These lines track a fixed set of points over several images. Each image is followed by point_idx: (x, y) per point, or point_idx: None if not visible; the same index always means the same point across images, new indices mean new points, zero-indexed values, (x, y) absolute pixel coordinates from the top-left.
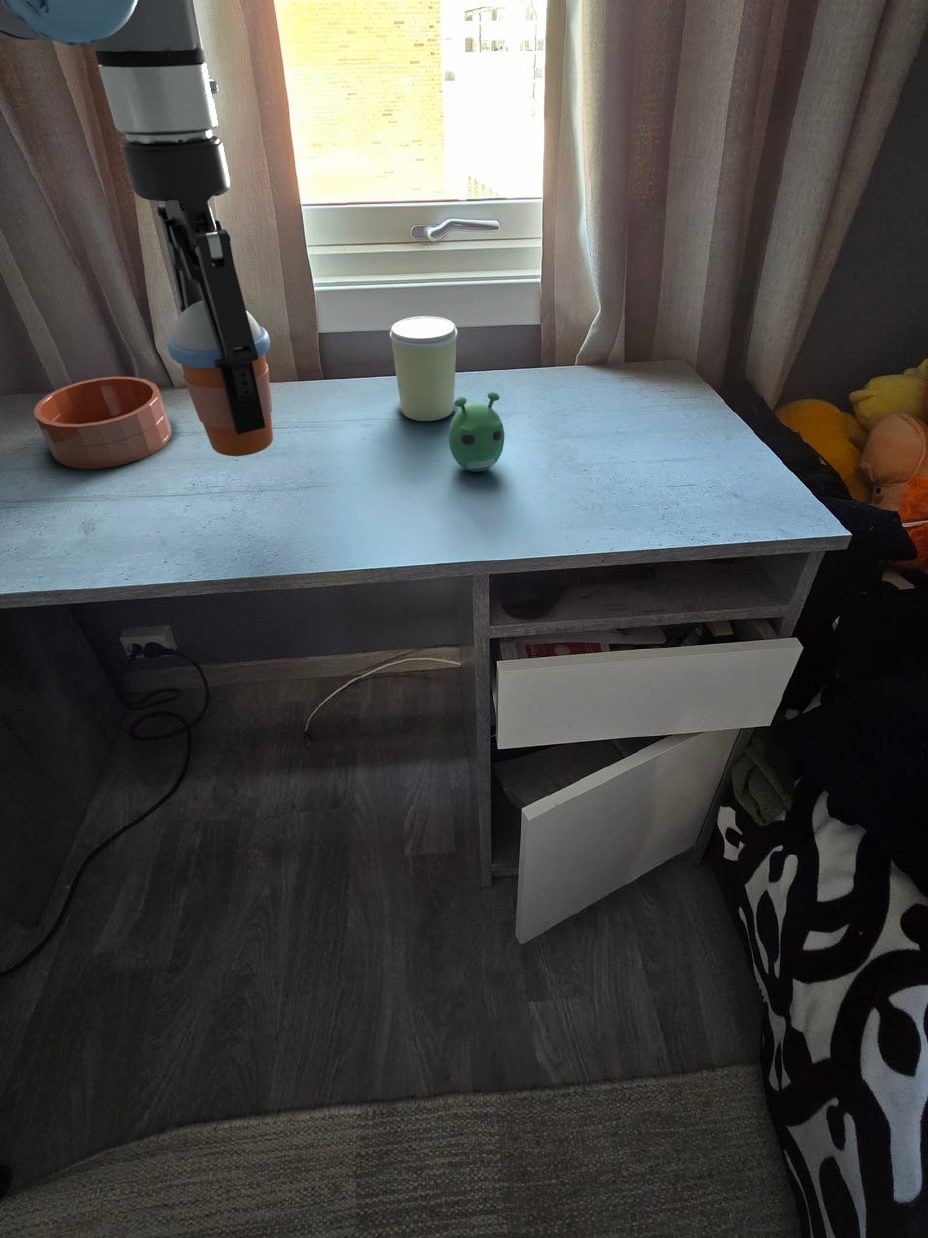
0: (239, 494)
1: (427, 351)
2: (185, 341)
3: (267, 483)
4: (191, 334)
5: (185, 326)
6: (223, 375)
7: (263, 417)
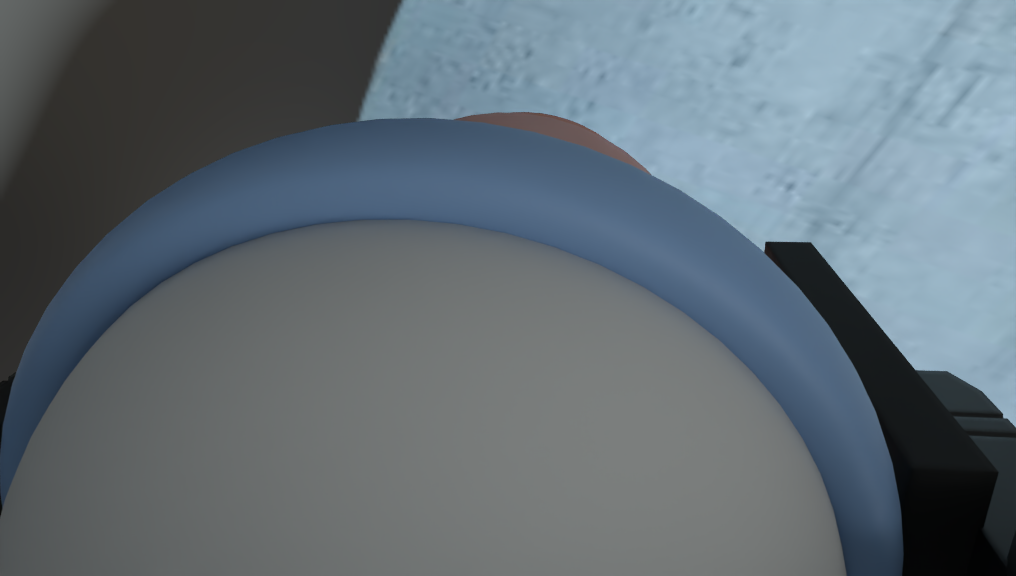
0: (849, 152)
1: None
2: (144, 326)
3: (853, 253)
4: (67, 436)
5: (141, 459)
6: (13, 378)
7: None
